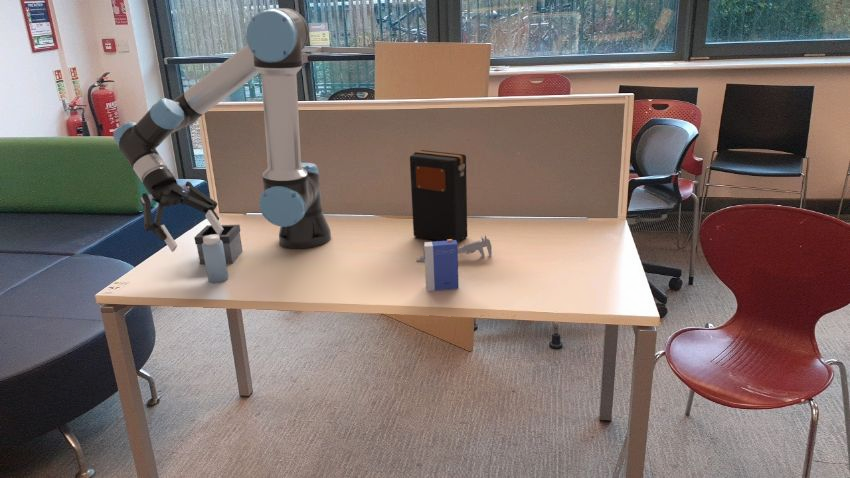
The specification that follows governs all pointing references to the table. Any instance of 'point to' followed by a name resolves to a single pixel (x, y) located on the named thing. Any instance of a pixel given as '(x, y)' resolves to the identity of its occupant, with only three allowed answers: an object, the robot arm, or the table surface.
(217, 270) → the white-capped blue bottle
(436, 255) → the walkman
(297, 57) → the robot arm
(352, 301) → the table surface
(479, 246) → the caliper
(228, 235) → the square planter pot
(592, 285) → the table surface
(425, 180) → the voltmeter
